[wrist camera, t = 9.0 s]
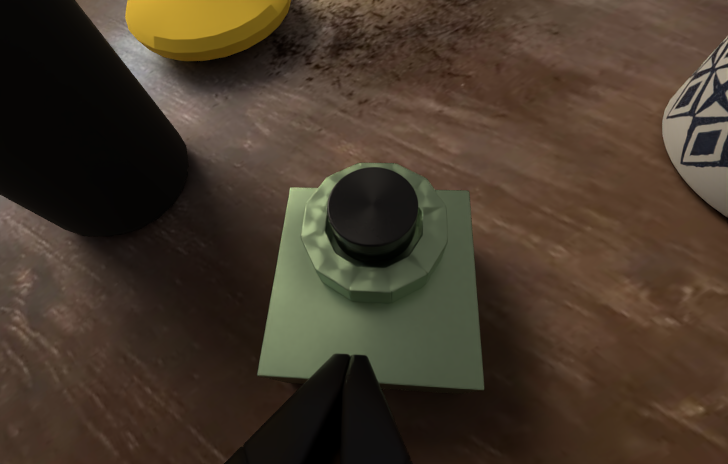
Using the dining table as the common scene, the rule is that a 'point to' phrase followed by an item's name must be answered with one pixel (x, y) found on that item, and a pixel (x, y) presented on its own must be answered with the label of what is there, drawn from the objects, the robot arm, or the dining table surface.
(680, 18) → the dining table surface
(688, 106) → the planter
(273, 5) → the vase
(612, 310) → the dining table surface
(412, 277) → the push button box
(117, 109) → the coffee jar
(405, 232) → the button
